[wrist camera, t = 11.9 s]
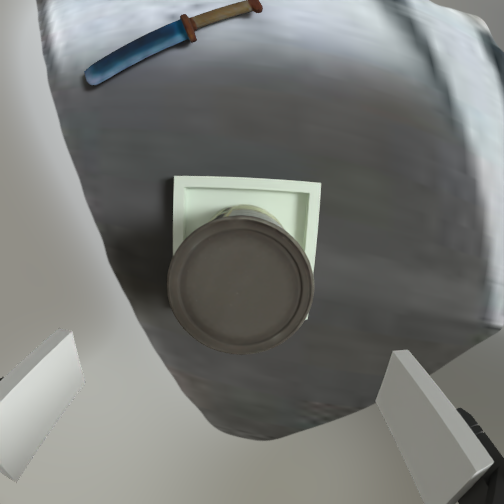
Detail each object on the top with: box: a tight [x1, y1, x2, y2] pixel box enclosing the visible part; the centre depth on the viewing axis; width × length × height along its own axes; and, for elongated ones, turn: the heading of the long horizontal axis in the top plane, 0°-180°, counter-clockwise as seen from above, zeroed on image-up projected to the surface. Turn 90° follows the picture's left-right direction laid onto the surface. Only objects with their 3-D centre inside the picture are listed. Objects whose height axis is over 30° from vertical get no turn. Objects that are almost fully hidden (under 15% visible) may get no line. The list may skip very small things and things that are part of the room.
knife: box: [84, 0, 263, 85], centre depth 27 cm, size 24×3×5 cm
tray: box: [173, 176, 321, 319], centre depth 33 cm, size 16×16×2 cm
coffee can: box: [167, 204, 314, 355], centre depth 27 cm, size 10×10×14 cm
